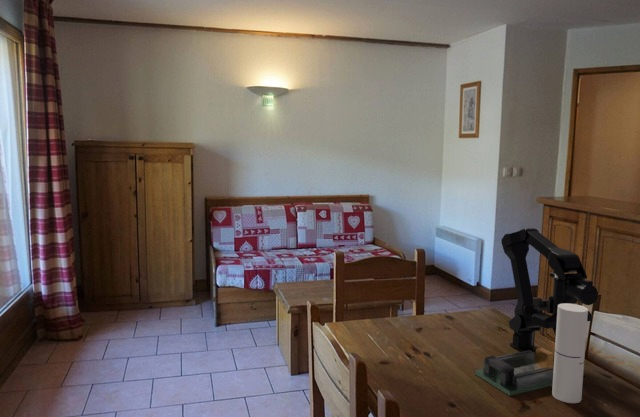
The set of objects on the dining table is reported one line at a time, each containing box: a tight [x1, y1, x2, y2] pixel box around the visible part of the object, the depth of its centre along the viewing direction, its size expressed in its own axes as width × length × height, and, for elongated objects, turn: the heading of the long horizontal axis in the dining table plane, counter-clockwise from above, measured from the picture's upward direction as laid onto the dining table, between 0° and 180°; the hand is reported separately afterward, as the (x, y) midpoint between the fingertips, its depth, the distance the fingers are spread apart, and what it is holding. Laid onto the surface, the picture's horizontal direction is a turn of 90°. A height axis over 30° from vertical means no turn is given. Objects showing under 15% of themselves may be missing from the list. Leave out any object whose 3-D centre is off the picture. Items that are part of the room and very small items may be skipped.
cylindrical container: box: [551, 303, 589, 404], centre depth 131 cm, size 7×7×25 cm
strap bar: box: [514, 347, 555, 376], centre depth 144 cm, size 14×4×5 cm, turn 113°
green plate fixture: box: [474, 350, 554, 396], centre depth 143 cm, size 22×14×6 cm, turn 113°
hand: (559, 344), depth 148 cm, fingers closed
